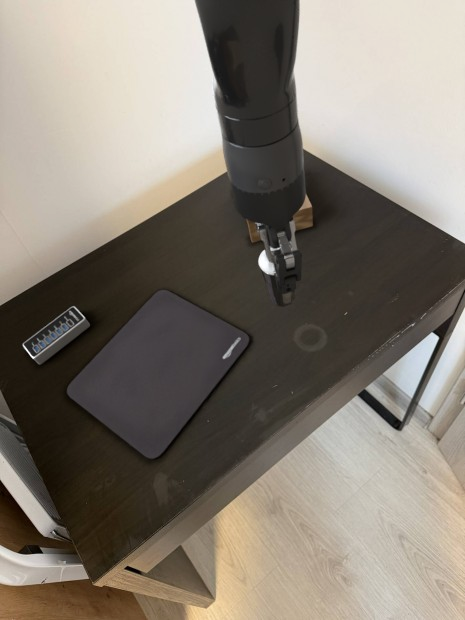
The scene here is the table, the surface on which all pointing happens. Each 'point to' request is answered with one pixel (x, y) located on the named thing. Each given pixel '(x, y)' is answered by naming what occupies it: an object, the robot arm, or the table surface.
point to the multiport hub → (56, 335)
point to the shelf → (300, 218)
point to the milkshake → (273, 282)
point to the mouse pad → (157, 371)
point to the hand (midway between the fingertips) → (280, 273)
